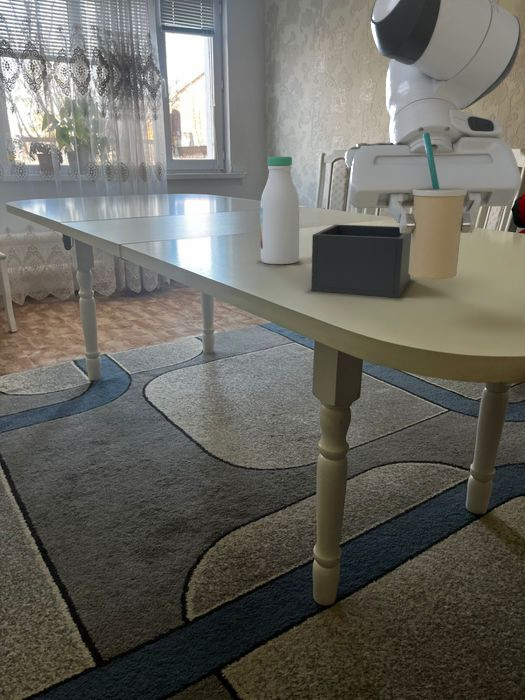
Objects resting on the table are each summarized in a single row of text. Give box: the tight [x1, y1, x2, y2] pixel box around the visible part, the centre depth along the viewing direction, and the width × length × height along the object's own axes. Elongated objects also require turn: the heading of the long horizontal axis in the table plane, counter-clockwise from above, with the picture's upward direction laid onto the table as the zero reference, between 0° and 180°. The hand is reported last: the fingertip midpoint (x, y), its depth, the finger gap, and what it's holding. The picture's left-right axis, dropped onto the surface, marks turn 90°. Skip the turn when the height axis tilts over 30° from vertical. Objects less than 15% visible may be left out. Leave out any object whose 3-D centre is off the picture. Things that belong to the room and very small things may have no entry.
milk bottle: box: [259, 156, 300, 265], centre depth 106 cm, size 8×8×20 cm
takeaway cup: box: [409, 132, 467, 280], centre depth 64 cm, size 6×6×16 cm
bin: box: [310, 223, 412, 299], centre depth 88 cm, size 14×14×9 cm
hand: (437, 230), depth 64 cm, fingers closed on takeaway cup, 5 cm apart
